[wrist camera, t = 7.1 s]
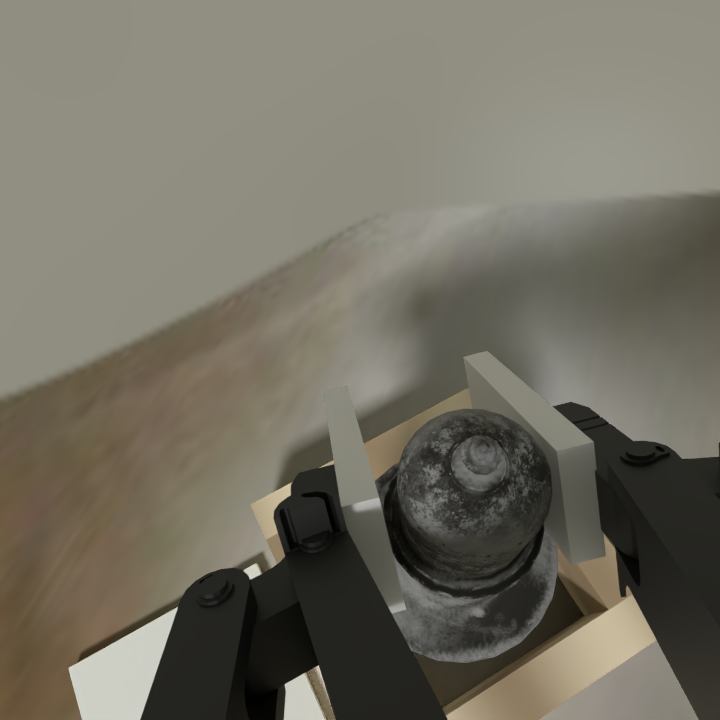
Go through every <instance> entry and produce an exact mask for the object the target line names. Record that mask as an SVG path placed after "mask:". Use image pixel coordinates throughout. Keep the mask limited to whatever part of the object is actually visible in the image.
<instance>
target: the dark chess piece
mask: <svg viewBox="0 0 720 720" xmlns="http://www.w3.org/2000/svg"><path fill="white" fill-rule="evenodd" d="M375 485H376V488H377V492H378V495H379V499H380V503H381V507H382V511H383V515H384V520H385V524H386V528H387V532H388V536H389V540H390V544H391V549H392V553H393V557H394V561H395V565H396V569H397V574H398V578H399V582H400V586H401V590H402V594H403V598H404V603H405V607H406V610H403V611H399V612H395V613H392V615H393V617H394V619H395V621H396V623H397V625H398V626H399V628H400V630H401V632H402V634H403V636H404V638H405V640H406V641H407V643H408V645H409V647H410V649H411V651H413V652H416V653H418V654H421V655H424V656H426V657H429V658H431V659H434V660H437V661H448V662H459V663H469V662H474V661H478V660H483V659H488V658H493V657H496V656H498V655H500V654H501V653H503V652H505V651H507V650H508V649H510V648H512V647H514V646H516V645H517V644H519V643H521V642H522V641H523V640H524V639H525V637H526V636H527V635H528V634H529V633H530V632H531V631H532V630H533V629H534V628H535V627H536V626H537V625H538V624H539V623H540V621H541V619H542V618H543V616H544V614H545V612H546V610H547V608H548V606H549V604H550V602H551V600H552V598H553V595H554V589H555V584H556V579H557V574H558V555H557V545H556V543H555V542H554V540H553V539H552V538H551V536H550V535H549V534H548V532H547V531H546V530H545V528H544V521H545V519H546V518H547V516H548V514H549V510H550V505H551V500H552V495H553V492H552V478H551V470H550V467H549V464H548V461H547V459H546V456H545V453H544V452H543V450H542V449H541V447H540V446H539V444H538V443H537V441H536V440H535V439H534V437H533V436H532V435H531V434H530V433H528V432H527V431H526V430H525V429H524V428H523V427H522V426H521V425H519V424H518V423H516V422H514V421H513V420H511V419H509V418H507V417H505V416H503V415H501V414H498V413H494V412H490V411H487V410H483V409H460V410H455V411H450V412H446V413H443V414H441V415H439V416H437V417H435V418H433V419H431V420H429V421H428V422H427V423H426V424H424V425H423V426H422V427H421V428H420V429H418V430H417V431H416V432H415V434H414V435H413V436H412V438H411V439H410V441H409V442H408V444H407V445H406V447H405V448H404V450H403V453H402V456H401V459H400V462H399V463H397V464H394V465H393V466H392V467H391V468H389V469H388V470H387V471H386V472H385V473H384V474H383V475H381V476H380V477H379V478H378V479H377V480H376V481H375Z"/></svg>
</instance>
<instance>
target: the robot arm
mask: <svg viewBox="0 0 720 720" xmlns="http://www.w3.org/2000/svg"><path fill="white" fill-rule="evenodd" d="M463 359H464V365H465V370H466V376H467V382H468V388H469V393H470V399H471V405H472V409H483V410H487V411H490V412H494V413H498V414H501V415H503V416H505V417H507V418H509V419H511V420H513V421H514V422H516V423H518V424H519V425H521V426H522V427H523V428H524V429H525V430H526V431H527V432H528V433H530V434H531V435H532V436H533V437H534V439H535V440H536V441H537V443H538V444H539V446H540V447H541V449H542V450H543V452H544V453H545V456H546V459H547V461H548V464H549V467H550V470H551V478H552V492H553V495H552V500H551V505H550V510H549V514H548V516H547V518H546V519H545V521H544V528H545V530H546V531H547V532H548V534H549V535H550V536H551V538H552V539H553V540H554V542H555V543H556V545H557V546H558V547H559V549H560V550H561V551H562V553H563V554H564V555H565V557H566V558H567V559H568V561H569V562H570V564H571V565H574V564H578V563H581V562H585V561H589V560H593V559H596V558H600V557H604V556H606V552H605V543H604V533H605V535H606V536H607V537H608V538H609V539H610V540H611V541H612V542H613V543H614V545H615V551H616V561H617V571H618V581H619V590H620V595H621V597H627V596H626V587H627V585H628V587H629V589H630V591H631V593H632V595H633V596H634V598H635V600H636V602H637V604H638V606H639V608H640V610H641V611H642V613H643V615H644V617H645V619H646V621H647V623H648V625H649V627H650V628H651V630H652V632H653V634H654V636H655V638H656V640H657V642H658V643H659V645H660V647H661V649H662V651H663V653H664V655H665V657H666V659H667V660H668V662H669V664H670V666H671V668H672V670H673V672H674V674H675V675H676V677H677V679H678V681H679V683H680V685H681V687H682V689H683V691H684V692H685V694H686V696H687V698H688V700H689V702H690V704H691V706H692V707H693V709H694V711H695V713H696V715H697V717H698V719H699V720H720V443H719V457H710V458H696V459H681V458H680V456H679V455H678V454H677V453H676V452H675V451H674V450H672V449H671V448H669V447H668V446H666V445H662V444H659V443H656V442H648V441H632V440H631V439H630V438H628V437H627V436H626V435H624V434H623V433H622V432H620V431H619V430H618V429H616V428H615V427H614V426H612V425H611V424H609V423H608V422H607V421H606V420H604V419H603V418H602V417H601V418H600V416H599V415H598V414H596V413H595V412H594V411H592V410H591V409H590V408H589V407H586V406H582V405H579V404H576V403H573V402H569V403H565V404H561V405H557V406H553V407H552V406H551V405H550V404H549V403H548V402H547V401H545V400H544V399H543V398H542V397H541V396H540V395H538V394H537V393H536V392H535V391H534V390H533V389H531V388H530V387H529V386H528V385H527V384H525V383H524V382H523V381H522V380H521V379H520V378H518V377H517V376H516V375H515V374H514V373H513V372H511V371H510V370H509V369H508V368H507V367H506V366H504V365H503V364H502V363H501V362H500V361H499V360H497V359H496V358H495V357H494V356H493V355H491V354H490V353H489V352H488V351H484V352H480V353H476V354H472V355H468V356H464V357H463ZM323 397H324V403H325V409H326V416H327V422H328V428H329V434H330V441H331V447H332V453H333V459H334V464H332V465H328V466H325V467H321V468H317V469H313V470H309V471H305V472H301V473H298V475H297V476H296V478H295V479H294V481H293V482H292V484H291V496H289V497H287V498H286V499H284V500H283V501H282V502H281V503H279V504H278V506H277V507H276V509H275V510H274V517H273V519H274V522H275V525H276V528H277V532H278V535H279V538H280V541H281V544H282V548H283V551H284V554H285V557H284V558H283V559H282V560H281V562H279V563H278V564H277V565H276V566H274V567H273V568H271V569H270V570H268V571H266V572H265V573H263V574H261V575H259V576H257V577H254V578H252V579H250V578H249V576H248V575H247V574H246V573H245V572H244V571H243V570H239V569H235V568H228V569H220V570H217V571H214V572H211V573H209V574H207V575H205V576H203V577H201V578H200V579H198V580H197V581H195V582H194V583H193V584H192V585H191V586H190V587H189V588H188V589H187V590H186V591H185V593H184V595H183V596H182V598H181V600H180V603H179V606H178V609H177V612H176V615H175V618H174V621H173V624H172V627H171V630H170V633H169V636H168V638H167V641H166V644H165V647H164V650H163V653H162V656H161V659H160V662H159V665H158V668H157V671H156V674H155V677H154V680H153V683H152V686H151V689H150V692H149V695H148V698H147V701H146V704H145V707H144V710H143V713H142V716H141V719H140V720H284V710H285V696H286V689H285V684H286V683H288V682H290V681H291V680H293V679H295V678H297V677H298V676H300V675H302V674H304V673H305V672H307V671H309V670H311V669H312V668H314V667H316V666H318V665H319V667H320V670H321V674H322V677H323V680H324V683H325V686H326V690H327V693H328V696H329V699H330V703H331V706H332V709H333V712H334V715H335V719H336V720H448V719H447V717H446V715H445V713H444V711H443V709H442V707H441V706H440V704H439V702H438V700H437V698H436V696H435V694H434V692H433V690H432V689H431V687H430V685H429V683H428V681H427V679H426V677H425V675H424V674H423V672H422V670H421V668H420V666H419V664H418V662H417V660H416V658H415V657H414V655H413V653H412V651H411V649H410V647H409V645H408V643H407V641H406V640H405V638H404V636H403V634H402V632H401V630H400V628H399V626H398V625H397V623H396V621H395V619H394V617H393V615H392V613H395V612H399V611H403V610H406V607H405V603H404V598H403V594H402V590H401V586H400V582H399V578H398V574H397V569H396V565H395V561H394V557H393V553H392V549H391V544H390V540H389V536H388V532H387V528H386V524H385V520H384V515H383V511H382V507H381V503H380V499H379V495H378V492H377V488H376V485H375V481H374V478H373V474H372V471H371V467H370V464H369V460H368V457H367V453H366V450H365V446H364V443H363V439H362V436H361V432H360V429H359V425H358V422H357V418H356V415H355V411H354V408H353V404H352V401H351V397H350V394H349V390H348V387H347V386H344V387H340V388H336V389H332V390H328V391H324V392H323ZM603 532H604V533H603Z"/></svg>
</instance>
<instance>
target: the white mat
mask: <svg viewBox="0 0 720 720" xmlns="http://www.w3.org/2000/svg"><path fill="white" fill-rule="evenodd" d="M243 571H244V572H245V573H246V574H247V575H248V576H249V578H250V579H252V578H254V577H257V576H259V575H261V574H263V573H262V571H261V569H260V567H259V565H258V564H257V563H255V564H254V565H252V566H250V567H248V568H247V569H245V570H243ZM177 609H178V607H177V608H175V609H173V610H171V611H170V612H168V613H166V614H164V615H162V616H161V617H159V618H157V619H155V620H154V621H152V622H150V623H148V624H146V625H145V626H143V627H141V628H139V629H137V630H136V631H134V632H132V633H130V634H129V635H127V636H125V637H123V638H121V639H120V640H118V641H116V642H114V643H112V644H111V645H109V646H107V647H105V648H103V649H102V650H100V651H98V652H96V653H95V654H93V655H91V656H89V657H87V658H86V659H84V660H82V661H80V662H78V663H77V664H75V665H73V666H71V667H70V668H69V672H70V676H71V680H72V683H73V687H74V691H75V695H76V698H77V702H78V706H79V709H80V713H81V717H82V720H140V719H141V716H142V713H143V710H144V707H145V704H146V701H147V698H148V695H149V692H150V689H151V686H152V683H153V680H154V677H155V674H156V671H157V668H158V665H159V662H160V659H161V656H162V653H163V650H164V647H165V644H166V641H167V638H168V636H169V633H170V630H171V627H172V624H173V621H174V618H175V615H176V612H177ZM285 689H286V696H285V710H284V720H327V719H326V716H325V714H324V712H323V710H322V707H321V705H320V703H319V701H318V698H317V696H316V694H315V692H314V689H313V687H312V685H311V682H310V680H309V678H308V676H307V673H306V672H305V673H304V674H302V675H300V676H298V677H297V678H295V679H293V680H291V681H290V682H288V683H286V684H285Z"/></svg>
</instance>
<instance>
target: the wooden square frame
mask: <svg viewBox="0 0 720 720" xmlns="http://www.w3.org/2000/svg"><path fill="white" fill-rule="evenodd" d="M460 409H472V405H471V399H470V393H469V388H466V389H464V390H462V391H460V392H459V393H457V394H455V395H453V396H451V397H449V398H447V399H446V400H444V401H442V402H440V403H438V404H436V405H434V406H433V407H431V408H429V409H427V410H425V411H423V412H422V413H420V414H418V415H416V416H414V417H412V418H410V419H409V420H407V421H405V422H403V423H401V424H399V425H397V426H396V427H394V428H392V429H390V430H388V431H386V432H384V433H383V434H381V435H379V436H377V437H375V438H373V439H371V440H370V441H368V442H366V443H364V446H365V450H366V453H367V457H368V460H369V464H370V467H371V471H372V474H373V478H374V481H376V480H377V479H378V478H379V477H380V476H381V475H383V474H384V473H385V472H386V471H387V470H388V469H389V468H391V467H392V466H393V465H394V464H397V463H399V462H400V459H401V456H402V453H403V450H404V448H405V447H406V445H407V444H408V442H409V441H410V439H411V438H412V436H413V435H414V434H415V432H416V431H417V430H418V429H420V428H421V427H422V426H423V425H424V424H426V423H427V422H428V421H429V420H431V419H433V418H435V417H437V416H439V415H441V414H443V413H446V412H450V411H455V410H460ZM332 464H334V460H332V461H331V462H329V463H327V464H325V465H323V466H321V467H325V466H328V465H332ZM321 467H319V468H321ZM291 484H292V483H290V484H288V485H286V486H284V487H282V488H281V489H279V490H277V491H275V492H273V493H271V494H269V495H268V496H266V497H264V498H262V499H260V500H258V501H256V502H255V503H253V504H251V507H252V509H253V512H254V514H255V516H256V518H257V520H258V523H259V525H260V527H261V529H262V531H263V534H264V536H265V538H266V540H267V542H268V545H269V547H270V549H271V551H272V553H273V556H274V558H275V560H276V562H277V564H278V563H279V562H281V560H282V559H283V558H284V557H285V554H284V551H283V548H282V544H281V541H280V538H279V535H278V532H277V528H276V525H275V522H274V519H273V517H274V510H275V509H276V507H277V506H278V504H279V503H281V502H282V501H283V500H284V499H286V498H287V497H289V496H291ZM604 543H605V552H606V556H604V557H600V558H596V559H593V560H589V561H585V562H581V563H578V564H574V565H571V564H570V562H569V561H568V559H567V558H566V557H565V555H564V554H563V553H562V551H561V550H560V549H559V547H558V546H557V555H558V574H557V576H558V577H559V579H560V580H561V582H562V583H563V585H564V586H565V588H566V589H567V591H568V592H569V594H570V595H571V597H572V598H573V600H574V601H575V603H576V604H577V606H578V607H579V609H580V610H581V612H582V613H583V615H584V616H583V617H582V618H580V619H579V620H577V621H576V622H574V623H573V624H571V625H570V626H568V627H566V628H565V629H563V630H562V631H560V632H559V633H557V634H556V635H554V636H553V637H551V638H549V639H548V640H546V641H545V642H543V643H542V644H540V645H539V646H537V647H536V648H534V649H532V650H531V651H529V652H528V653H526V654H525V655H523V656H522V657H520V658H519V659H517V660H515V661H514V662H512V663H511V664H509V665H508V666H506V667H505V668H503V669H501V670H500V671H498V672H497V673H495V674H494V675H492V676H491V677H489V678H488V679H486V680H484V681H483V682H481V683H480V684H478V685H477V686H475V687H474V688H472V689H471V690H469V691H467V692H466V693H464V694H463V695H461V696H460V697H458V698H457V699H455V700H454V701H452V702H450V703H449V704H447V705H446V706H444V707H443V708H442V709H443V711H444V713H445V715H446V717H447V719H448V720H538V719H540V718H541V717H543V716H544V715H546V714H547V713H549V712H550V711H552V710H553V709H555V708H556V707H558V706H559V705H561V704H562V703H564V702H565V701H567V700H568V699H570V698H571V697H573V696H574V695H576V694H577V693H579V692H580V691H582V690H583V689H585V688H586V687H587V686H589V685H590V684H592V683H593V682H595V681H596V680H598V679H599V678H601V677H602V676H604V675H605V674H607V673H608V672H610V671H611V670H613V669H614V668H616V667H617V666H619V665H620V664H622V663H623V662H625V661H626V660H628V659H629V658H631V657H632V656H634V655H635V654H636V653H638V652H639V651H641V650H642V649H644V648H645V647H647V646H648V645H650V644H651V643H653V642H654V641H656V638H655V636H654V634H653V632H652V630H651V628H650V627H649V625H648V623H647V621H646V619H645V617H644V615H643V613H642V611H641V610H640V608H639V606H638V604H637V602H636V600H635V598H634V596H633V595H632V593H631V591H630V589H629V587H628V585H627V587H626V596H627V597H621V595H620V590H619V581H618V571H617V561H616V551H615V548H614V547H613V545H612V544H611V543H610V541H609V540H608V539H607V537H606V536H605V535H604Z"/></svg>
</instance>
